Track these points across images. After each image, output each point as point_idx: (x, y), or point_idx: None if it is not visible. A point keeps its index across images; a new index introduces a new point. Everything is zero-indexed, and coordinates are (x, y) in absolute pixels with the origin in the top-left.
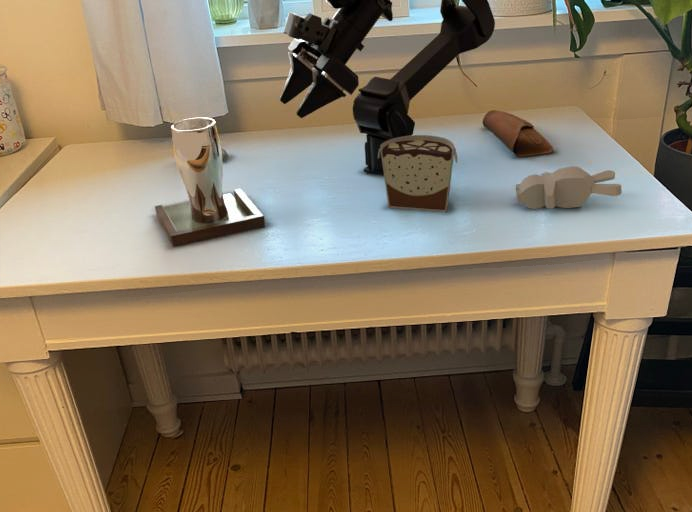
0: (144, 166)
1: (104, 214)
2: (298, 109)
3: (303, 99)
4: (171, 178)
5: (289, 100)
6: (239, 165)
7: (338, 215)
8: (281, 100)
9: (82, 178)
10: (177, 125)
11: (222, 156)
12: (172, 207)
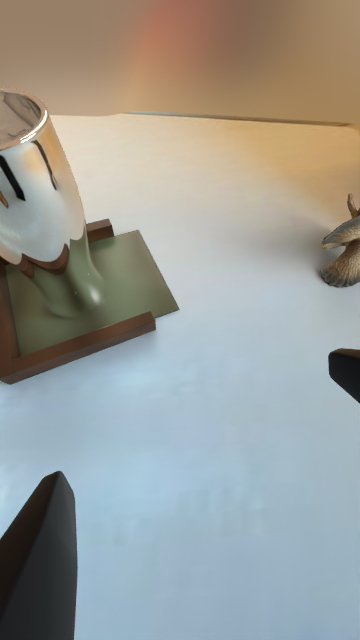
0: (295, 195)
1: (135, 183)
2: (45, 492)
3: (11, 573)
4: (251, 227)
5: (355, 397)
6: (314, 307)
7: None
8: (332, 357)
9: (251, 152)
10: (26, 103)
11: (339, 276)
12: (135, 242)
